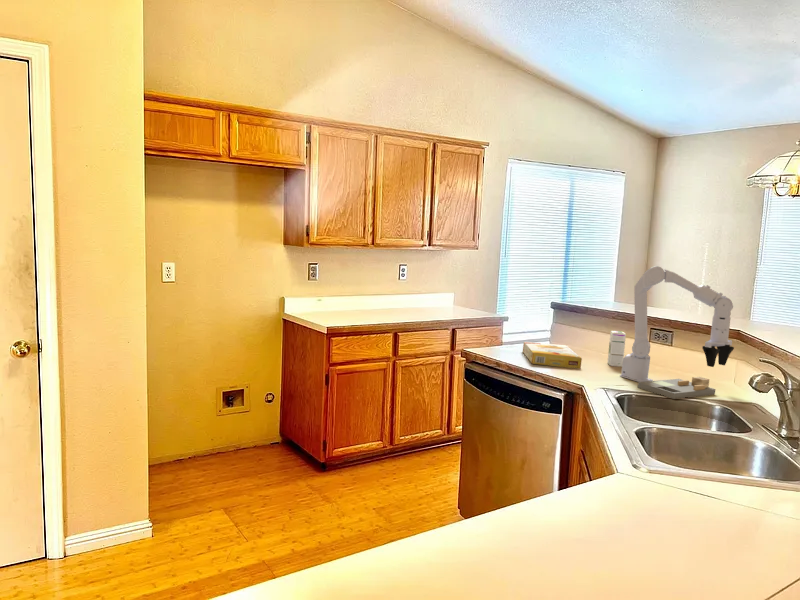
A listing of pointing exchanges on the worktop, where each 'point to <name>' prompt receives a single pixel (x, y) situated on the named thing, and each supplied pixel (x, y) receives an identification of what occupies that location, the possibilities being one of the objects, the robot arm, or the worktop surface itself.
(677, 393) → the board
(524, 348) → the cereal box
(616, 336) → the syrup box
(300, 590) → the worktop surface
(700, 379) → the birch block
